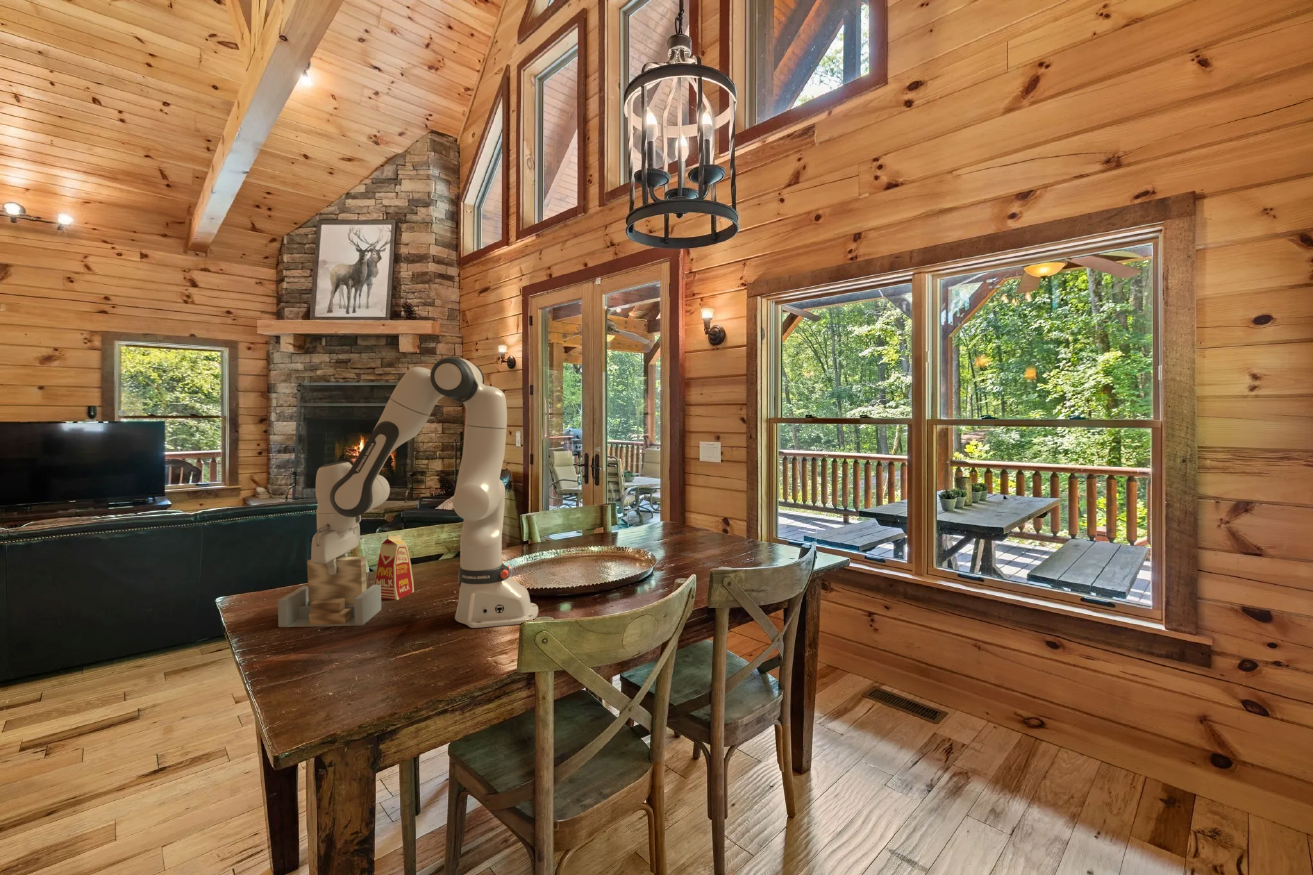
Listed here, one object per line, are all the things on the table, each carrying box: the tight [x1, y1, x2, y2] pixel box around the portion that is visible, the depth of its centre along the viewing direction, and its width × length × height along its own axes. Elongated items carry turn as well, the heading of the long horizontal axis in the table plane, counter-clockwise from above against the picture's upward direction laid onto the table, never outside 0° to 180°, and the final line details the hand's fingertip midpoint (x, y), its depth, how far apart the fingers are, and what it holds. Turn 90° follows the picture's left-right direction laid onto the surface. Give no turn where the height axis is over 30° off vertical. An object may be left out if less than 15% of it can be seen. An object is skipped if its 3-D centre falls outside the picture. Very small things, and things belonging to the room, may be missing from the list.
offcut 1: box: [311, 598, 345, 614], centre depth 152 cm, size 7×3×3 cm, turn 98°
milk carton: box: [373, 534, 415, 601], centre depth 175 cm, size 9×9×20 cm
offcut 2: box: [309, 609, 351, 625], centre depth 153 cm, size 9×4×3 cm, turn 94°
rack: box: [277, 584, 382, 628], centre depth 155 cm, size 21×12×8 cm, turn 94°
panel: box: [306, 556, 368, 606], centre depth 158 cm, size 14×3×13 cm, turn 94°
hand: (337, 571), depth 158 cm, fingers closed on panel, 3 cm apart
